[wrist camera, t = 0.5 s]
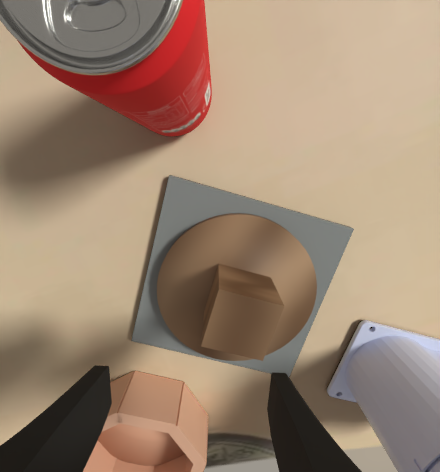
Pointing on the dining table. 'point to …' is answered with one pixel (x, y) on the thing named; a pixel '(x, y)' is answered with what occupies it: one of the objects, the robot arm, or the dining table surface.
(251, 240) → the brown disc
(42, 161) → the dining table surface
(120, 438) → the bowl
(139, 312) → the mat
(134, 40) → the beverage can
